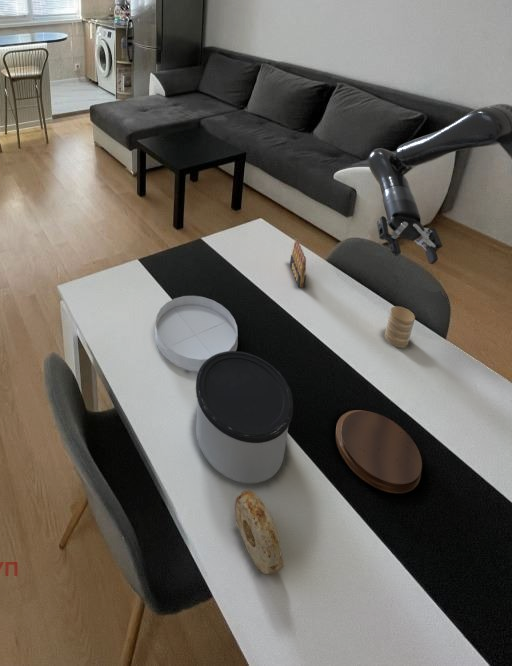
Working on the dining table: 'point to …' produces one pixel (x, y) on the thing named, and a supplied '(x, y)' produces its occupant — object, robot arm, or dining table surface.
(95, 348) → the dining table surface
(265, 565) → the bagel
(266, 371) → the container
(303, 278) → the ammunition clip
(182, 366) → the dish
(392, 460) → the brown round base
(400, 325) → the chip roll
